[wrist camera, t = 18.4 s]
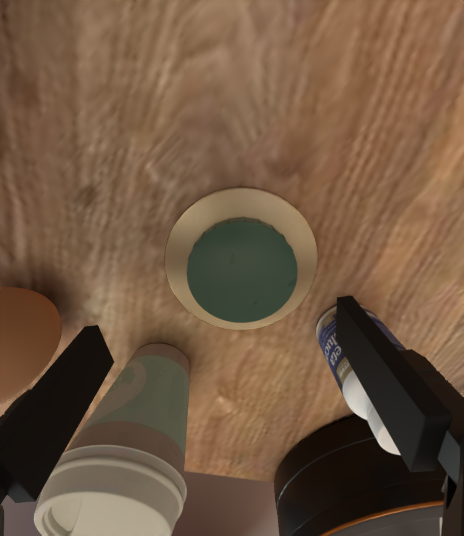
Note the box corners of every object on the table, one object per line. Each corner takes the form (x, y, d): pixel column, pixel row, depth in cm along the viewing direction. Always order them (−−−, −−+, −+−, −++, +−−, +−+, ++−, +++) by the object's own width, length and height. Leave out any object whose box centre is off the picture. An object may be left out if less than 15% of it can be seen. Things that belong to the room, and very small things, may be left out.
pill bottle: (316, 302, 22) (374, 402, 13) (379, 299, 22) (481, 398, 13) (312, 351, 24) (359, 465, 15) (369, 348, 24) (451, 462, 15)
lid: (293, 308, 21) (298, 319, 20) (198, 316, 22) (195, 327, 20) (293, 210, 18) (298, 215, 16) (180, 222, 18) (176, 227, 17)
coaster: (150, 197, 18) (147, 199, 18) (315, 177, 18) (319, 177, 17) (182, 330, 23) (181, 336, 22) (314, 317, 22) (316, 323, 22)
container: (225, 600, 23) (227, 478, 32) (382, 663, 32) (349, 552, 40) (557, 484, 15) (438, 363, 24) (653, 609, 23) (538, 485, 32)
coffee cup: (165, 315, 22) (99, 465, 11) (221, 374, 25) (211, 540, 14) (98, 357, 24) (-12, 519, 13) (157, 407, 27) (106, 576, 16)
